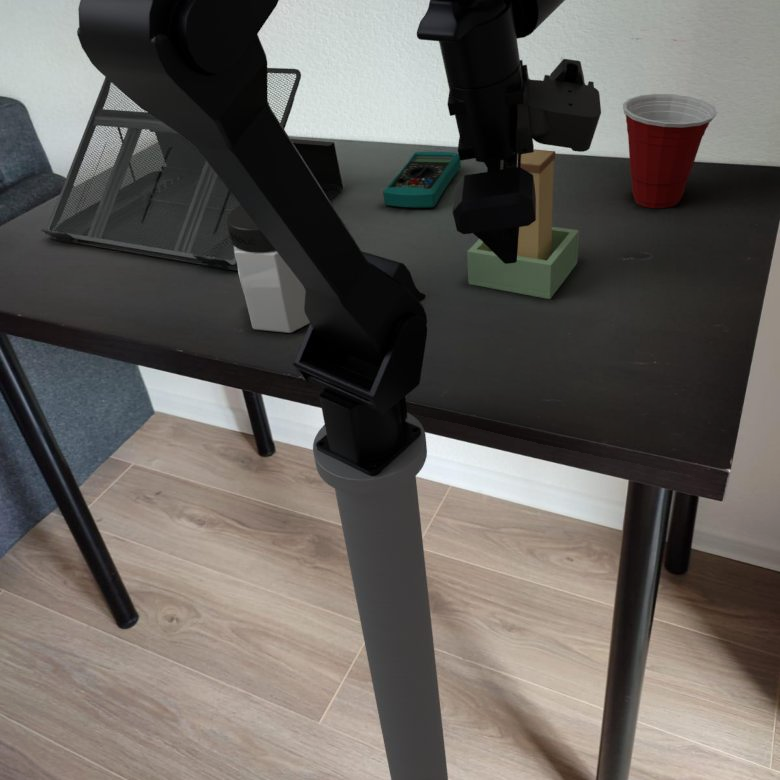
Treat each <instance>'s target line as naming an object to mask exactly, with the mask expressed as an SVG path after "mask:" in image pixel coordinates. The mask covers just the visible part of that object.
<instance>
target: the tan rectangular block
mask: <svg viewBox="0 0 780 780" xmlns="http://www.w3.org/2000/svg"><path fill="white" fill-rule="evenodd" d="M555 159H556V151H555V150H545V149H534V152H533V153H526V154H521V166H520V167H521V168H523V169H524V170H526V171H527V172H529V173H531V174H532V175H533V178H534V184H535V195H536V221H534V222H533V223H532V224H530V225H529V226H523V227H519V238H518V253H517V256H521V257H527V258H533V259H540V260H546V261H547V260H548V259H549V257H550V256H551V244H552V227H553V206H554V205H553V204H554V203H553V202H554V175H555V174H554V169H555Z"/></svg>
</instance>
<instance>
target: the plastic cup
mask: <svg viewBox="0 0 780 780" xmlns="http://www.w3.org/2000/svg"><path fill="white" fill-rule="evenodd" d="M622 109H623V113H624V115H625V122H626V131H627V139H628V140H627V141H628V154H629V167H630V168H629V171H630V176H631V187H632V196H633V200H634V203H636V204H637V205H638V206H642V207H644V208H650V209H666V208H672V207H674V206H676V205H678V204H679V203H680V201H681V199H682V197H683V196H684V192H685V188H686V185H687V182H688V179H689V177H690V176H691V172H692V169H693V166H694V164H695V161H696V158H697V156H698V155H697V154H698V152H699V148H700V145H701V142H702V140H703V137H704V136H705V133H706V131H707V129H708V127H709V125H710V122H712V121H713V120H714V118H715V117H716V116H717V114H718V111H717V109H716V108H715V106H714V105H712V104H711V103H709V102H707V101H705V100H703V99H699V98H696V97H692V96H687V95H681V94H680V95H679V94H674V93H651V94H640V95H637V96H634V97H631V98H630V97H629V98H627V100H626V101H624V102H623V103H622Z"/></svg>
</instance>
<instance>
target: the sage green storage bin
mask: <svg viewBox="0 0 780 780" xmlns="http://www.w3.org/2000/svg"><path fill="white" fill-rule="evenodd" d="M579 239H580V230H579V229H572V228H564V227H557V226H552V244H551V256H550V257H549V259H548V260H547V261H546V260H540V259H533V258H527V257H521V256H517V262H516V263H510V264H505V263H503V262H502V261H501V260H500V259H499V258H498V257H497V256H496V255H495V254H494V253H493V252H492V251H491V250H490V249H489V248H488V247H487V246H486V245H485V244H484V243H483V242H482V241H481V240H480V239H479V238H478V240H477V241H476V242H475V243H474V244H473V245H472V246H471V247H470V248H469V249H467V251H466V254H467V255H466V256H467V258H466V259H467V278H468V279H467V281H468V285H471V286H475V287H476V286H477V287H483V288H488V289H492V290H499V291H503V292H510V293H515V294H519V295H520V294H521V295H525V296H530V297H536V298H541V299H548V300H551V299H552V297H553V296H554V295H555V293H556V292H557V291H558V289H559V288H560V287H561V286H562V284H563V283H564V282H565V281H566V279H567V278H568V277H569V275H570V274H571V273H572V271H573V270H574V268H575V267H576V266H577V265H578V259H579V258H578V257H579V241H580V240H579Z"/></svg>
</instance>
